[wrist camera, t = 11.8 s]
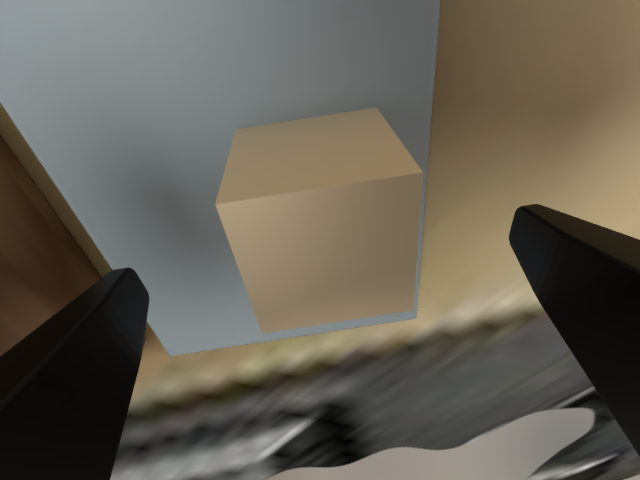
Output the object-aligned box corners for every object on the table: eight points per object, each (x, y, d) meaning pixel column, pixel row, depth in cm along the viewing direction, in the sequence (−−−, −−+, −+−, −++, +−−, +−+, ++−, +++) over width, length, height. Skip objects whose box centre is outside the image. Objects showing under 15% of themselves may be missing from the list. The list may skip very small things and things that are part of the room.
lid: (404, 289, 17) (450, 405, 13) (179, 324, 17) (143, 453, 13) (424, -184, 8) (633, -405, 3) (-73, -107, 8) (-576, -218, 3)
